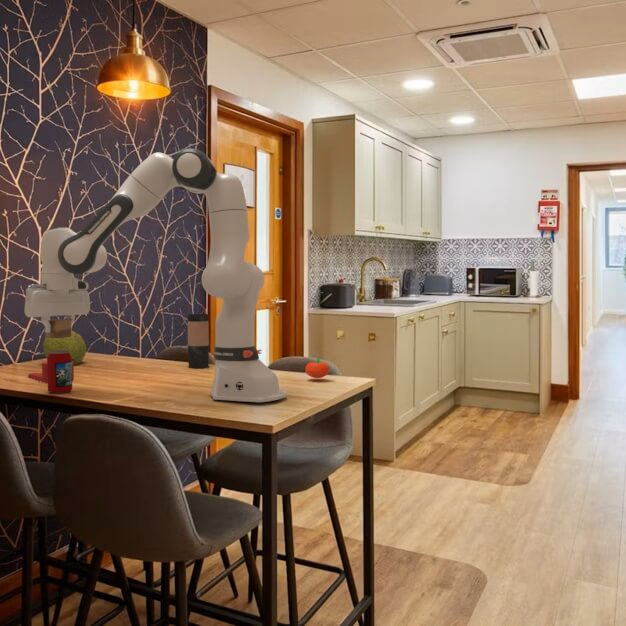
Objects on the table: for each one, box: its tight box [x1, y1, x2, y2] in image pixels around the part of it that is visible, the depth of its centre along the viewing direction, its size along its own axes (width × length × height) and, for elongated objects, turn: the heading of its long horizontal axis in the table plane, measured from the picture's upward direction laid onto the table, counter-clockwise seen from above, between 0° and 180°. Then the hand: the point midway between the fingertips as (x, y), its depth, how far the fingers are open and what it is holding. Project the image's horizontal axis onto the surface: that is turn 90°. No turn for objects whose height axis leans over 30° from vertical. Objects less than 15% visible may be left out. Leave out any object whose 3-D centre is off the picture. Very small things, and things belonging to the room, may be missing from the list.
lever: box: [27, 361, 75, 384], centre depth 217 cm, size 18×9×7 cm, turn 60°
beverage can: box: [46, 350, 73, 395], centre depth 197 cm, size 7×7×12 cm
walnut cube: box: [44, 318, 71, 338], centre depth 196 cm, size 5×5×5 cm
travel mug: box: [187, 313, 210, 370], centre depth 247 cm, size 8×8×20 cm
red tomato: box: [304, 358, 330, 379], centre depth 225 cm, size 7×8×6 cm
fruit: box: [42, 329, 88, 365], centre depth 248 cm, size 16×14×15 cm
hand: (58, 331), depth 196 cm, fingers closed on walnut cube, 5 cm apart
